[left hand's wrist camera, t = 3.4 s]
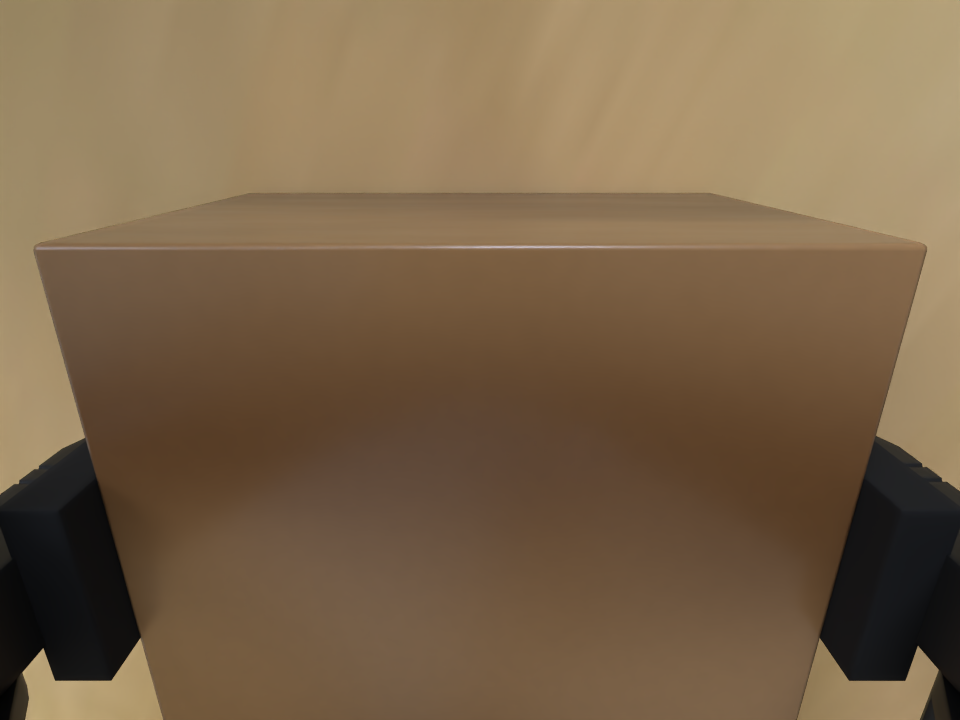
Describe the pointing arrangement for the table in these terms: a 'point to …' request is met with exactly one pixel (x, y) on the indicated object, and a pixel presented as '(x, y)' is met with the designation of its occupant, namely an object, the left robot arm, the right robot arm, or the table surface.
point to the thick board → (480, 447)
